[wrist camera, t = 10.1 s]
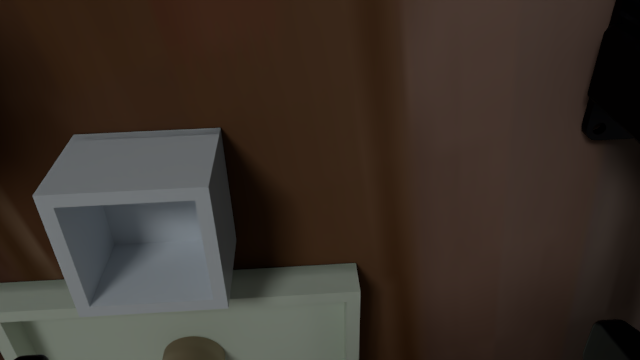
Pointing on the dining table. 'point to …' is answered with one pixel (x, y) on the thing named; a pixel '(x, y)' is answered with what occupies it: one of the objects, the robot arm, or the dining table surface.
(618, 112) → the robot arm
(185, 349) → the dowel
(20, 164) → the dining table surface
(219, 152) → the grey square sleeve
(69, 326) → the tray
